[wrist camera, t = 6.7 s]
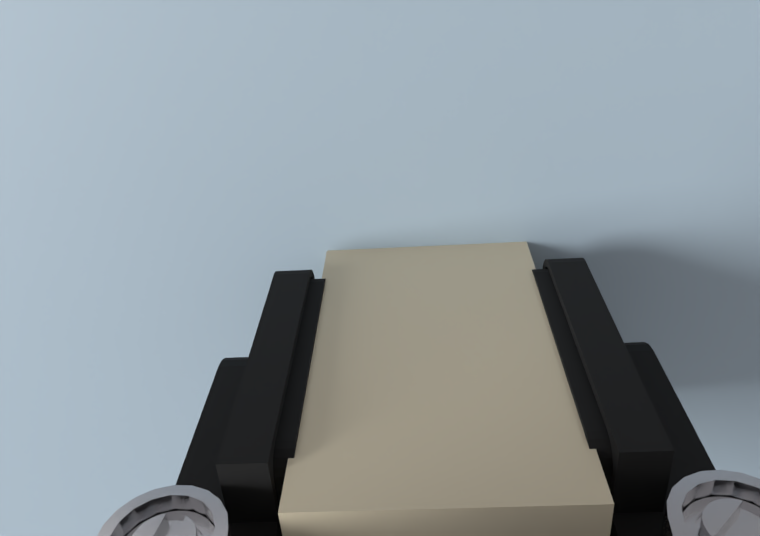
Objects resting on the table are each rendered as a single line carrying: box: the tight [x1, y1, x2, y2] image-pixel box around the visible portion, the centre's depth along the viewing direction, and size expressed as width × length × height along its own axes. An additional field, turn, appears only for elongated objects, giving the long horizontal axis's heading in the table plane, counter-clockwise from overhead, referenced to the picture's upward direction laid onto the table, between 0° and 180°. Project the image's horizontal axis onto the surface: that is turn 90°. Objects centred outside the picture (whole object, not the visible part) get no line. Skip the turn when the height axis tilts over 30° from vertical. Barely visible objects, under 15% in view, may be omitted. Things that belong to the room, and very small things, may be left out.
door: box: [0, 0, 760, 536], centre depth 9 cm, size 20×14×6 cm
